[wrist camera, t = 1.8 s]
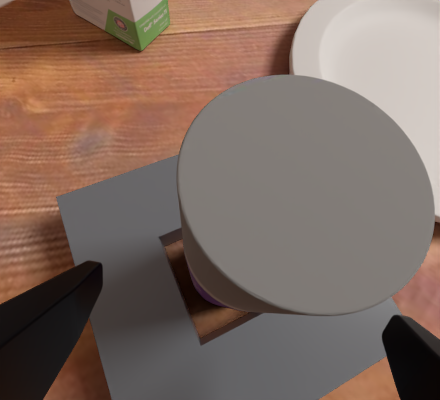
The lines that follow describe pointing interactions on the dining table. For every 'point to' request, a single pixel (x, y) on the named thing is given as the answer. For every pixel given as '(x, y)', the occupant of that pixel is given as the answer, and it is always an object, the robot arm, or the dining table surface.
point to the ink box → (126, 18)
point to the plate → (380, 63)
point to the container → (301, 199)
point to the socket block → (181, 318)
